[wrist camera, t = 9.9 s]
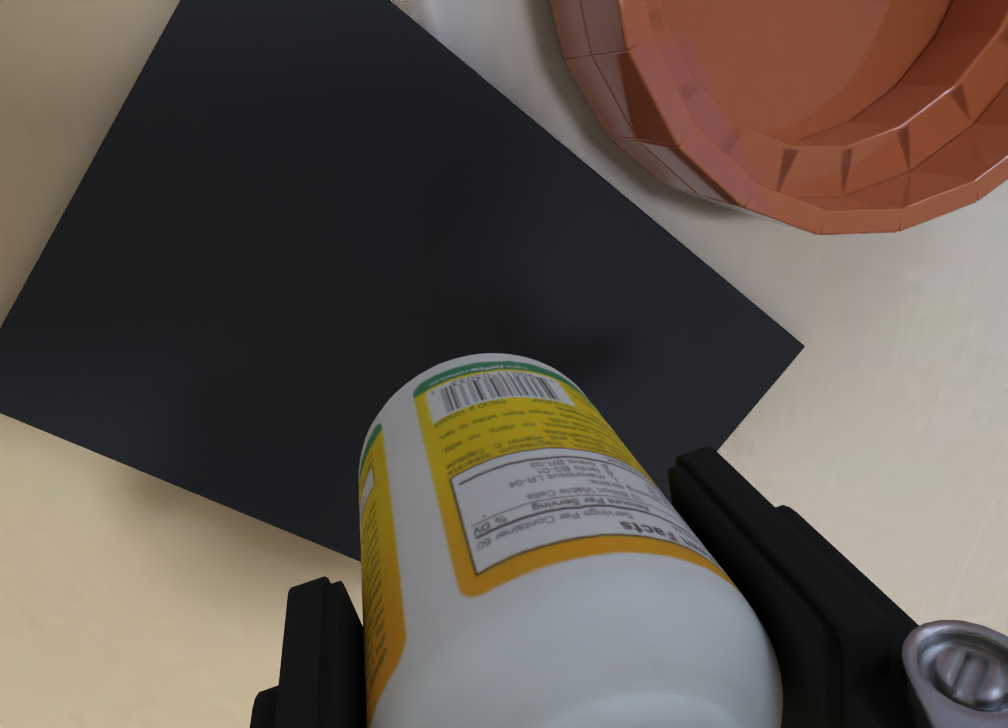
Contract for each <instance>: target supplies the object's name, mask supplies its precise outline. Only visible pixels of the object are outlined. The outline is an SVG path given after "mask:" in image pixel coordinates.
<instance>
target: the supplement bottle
mask: <svg viewBox="0 0 1008 728" xmlns="http://www.w3.org/2000/svg"><path fill="white" fill-rule="evenodd" d="M359 511H360V541H361V572H362V604H363V633H364V660H365V681H366V719H367V728H781V721H782V710H783V690H782V682H781V674H780V668H779V664H778V661H777V657H776V654H775V651H774V648H773V646H772V643H771V641H770V639H769V637H768V635H767V632H766V630H765V628H764V627H763V625H762V623H761V622H760V620H759V618H758V617H757V615H756V613H755V612H754V611H753V609H752V608H751V606H750V605H749V604H748V602H747V601H746V599H745V598H744V597H743V595H742V594H741V592H740V591H739V590H738V588H737V587H736V586H735V584H734V583H733V582H732V581H731V579H730V578H729V577H728V575H727V574H726V573H725V572H724V570H723V569H722V568H721V567H720V565H719V564H718V563H717V562H716V561H715V559H714V558H713V557H712V555H711V554H710V553H709V552H708V550H707V549H706V548H705V546H704V545H703V544H702V543H701V541H700V540H699V539H698V538H697V536H696V535H695V534H694V532H693V531H692V530H691V529H690V527H689V526H688V525H687V523H686V522H685V521H684V520H683V518H682V517H681V516H680V515H679V513H678V512H677V511H676V510H675V508H674V507H673V506H672V505H671V503H670V502H669V501H668V500H667V498H666V497H665V496H664V495H663V493H662V492H661V491H660V489H659V488H658V487H657V485H656V484H655V483H654V482H653V480H652V479H651V478H650V476H649V475H648V474H647V473H646V471H645V470H644V469H643V468H642V466H641V465H640V464H639V463H638V461H637V460H636V459H635V458H634V456H633V455H632V454H631V453H630V451H629V450H628V449H627V448H626V446H625V445H624V444H623V443H622V441H621V440H620V439H619V437H618V436H617V435H616V433H615V432H614V431H613V429H612V428H611V427H610V426H609V424H608V423H607V422H606V421H605V419H604V418H603V417H602V416H601V414H600V413H599V411H598V410H597V409H596V407H595V406H594V405H593V404H592V403H591V402H590V401H589V399H588V398H587V397H586V395H585V394H584V393H583V392H582V391H581V390H580V389H579V388H578V386H577V385H576V384H575V383H573V382H572V381H571V380H570V379H568V378H567V377H566V376H564V375H563V374H562V373H560V372H559V371H557V370H556V369H554V368H552V367H550V366H548V365H546V364H544V363H541V362H539V361H536V360H533V359H529V358H526V357H523V356H517V355H511V354H501V353H486V354H475V355H469V356H464V357H460V358H456V359H452V360H449V361H446V362H444V363H441V364H438V365H436V366H434V367H432V368H430V369H428V370H426V371H425V372H423V373H421V374H419V375H418V376H416V377H415V378H413V379H412V380H411V381H409V382H408V383H406V384H405V385H404V386H403V387H402V388H401V389H400V390H398V391H397V392H396V393H395V394H394V395H393V396H392V397H391V398H390V399H389V400H388V402H387V403H386V404H385V406H384V407H383V408H382V410H381V411H380V412H379V414H378V415H377V417H376V418H375V420H374V421H373V423H372V425H371V426H370V429H369V431H368V433H367V436H366V438H365V442H364V445H363V449H362V453H361V458H360V465H359Z"/></svg>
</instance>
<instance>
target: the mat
mask: <svg viewBox="0 0 1008 728" xmlns="http://www.w3.org/2000/svg"><path fill="white" fill-rule="evenodd" d="M804 347H805V346H804V345H803V344H802V343H800V342H799V341H798V340H797V339H796V338H794V337H793V336H792V335H791V334H790V333H788V332H787V331H786V330H785V329H784V328H782V327H781V326H780V325H779V324H778V323H776V322H775V321H774V320H773V319H772V318H770V317H769V316H768V315H767V314H766V313H764V312H763V311H762V310H761V309H760V308H758V307H757V306H756V305H755V304H754V303H752V302H751V301H750V300H749V299H748V298H746V297H745V296H744V295H743V294H742V293H740V292H739V291H738V290H737V289H736V288H734V287H733V286H732V285H731V284H730V283H728V282H727V281H726V280H725V279H724V278H722V277H721V276H720V275H719V274H718V273H716V272H715V271H714V270H713V269H712V268H710V267H709V266H708V265H707V264H706V263H704V262H703V261H702V260H701V259H700V258H698V257H697V256H696V255H695V254H694V253H692V252H691V251H690V250H689V249H688V248H686V247H685V246H684V245H683V244H682V243H680V242H679V241H678V240H677V239H676V238H674V237H673V236H672V235H671V234H670V233H668V232H667V231H666V230H665V229H664V228H662V227H661V226H660V225H659V224H658V223H656V222H655V221H654V220H653V219H652V218H650V217H649V216H648V215H647V214H646V213H644V212H643V211H642V210H641V209H640V208H638V207H637V206H636V205H635V204H634V203H632V202H631V201H630V200H629V199H628V198H626V197H625V196H624V195H623V194H622V193H620V192H619V191H618V190H617V189H616V188H614V187H613V186H612V185H611V184H610V183H608V182H607V181H606V180H605V179H604V178H602V177H601V176H600V175H599V174H598V173H596V172H595V171H594V170H593V169H592V168H590V167H589V166H588V165H587V164H586V163H584V162H583V161H582V160H581V159H580V158H578V157H577V156H576V155H575V154H574V153H572V152H571V151H570V150H569V149H567V148H566V147H565V146H564V145H563V144H561V143H560V142H559V141H558V140H557V139H555V138H554V137H553V136H552V135H551V134H549V133H548V132H547V131H546V130H545V129H543V128H542V127H541V126H540V125H539V124H537V123H536V122H535V121H534V120H533V119H531V118H530V117H529V116H528V115H527V114H525V113H524V112H523V111H522V110H521V109H519V108H518V107H517V106H516V105H515V104H513V103H512V102H511V101H510V100H509V99H507V98H506V97H505V96H504V95H503V94H501V93H500V92H499V91H498V90H497V89H495V88H494V87H493V86H492V85H491V84H489V83H488V82H487V81H486V80H485V79H483V78H482V77H481V76H480V75H479V74H477V73H476V72H475V71H474V70H473V69H471V68H470V67H469V66H468V65H467V64H465V63H464V62H463V61H462V60H461V59H459V58H458V57H457V56H456V55H455V54H453V53H452V52H451V51H450V50H449V49H447V48H446V47H445V46H444V45H443V44H441V43H440V42H439V41H438V40H437V39H435V38H434V37H433V36H432V35H431V34H429V33H428V32H427V31H426V30H425V29H423V28H422V27H421V26H420V25H419V24H417V23H416V22H415V21H414V20H413V19H411V18H410V17H409V16H408V15H407V14H405V13H404V12H403V11H402V10H401V9H399V8H398V7H397V6H396V5H395V4H393V3H392V2H391V1H390V0H180V2H179V4H178V5H177V7H176V9H175V11H174V13H173V15H172V16H171V18H170V20H169V22H168V24H167V25H166V27H165V29H164V31H163V33H162V35H161V36H160V38H159V40H158V42H157V44H156V45H155V47H154V49H153V51H152V53H151V55H150V56H149V58H148V60H147V62H146V64H145V66H144V67H143V69H142V71H141V73H140V75H139V76H138V78H137V80H136V82H135V84H134V86H133V87H132V89H131V91H130V93H129V95H128V97H127V98H126V100H125V102H124V104H123V106H122V107H121V109H120V111H119V113H118V115H117V117H116V118H115V120H114V122H113V124H112V126H111V128H110V129H109V131H108V133H107V135H106V137H105V138H104V140H103V142H102V144H101V146H100V148H99V149H98V151H97V153H96V155H95V157H94V158H93V160H92V162H91V164H90V166H89V168H88V169H87V171H86V173H85V175H84V177H83V179H82V180H81V182H80V184H79V186H78V188H77V189H76V191H75V193H74V195H73V197H72V199H71V200H70V202H69V204H68V206H67V208H66V210H65V211H64V213H63V215H62V217H61V219H60V220H59V222H58V224H57V226H56V228H55V230H54V231H53V233H52V235H51V237H50V239H49V240H48V242H47V244H46V246H45V248H44V250H43V251H42V253H41V255H40V257H39V259H38V261H37V262H36V264H35V266H34V268H33V270H32V271H31V273H30V275H29V277H28V279H27V281H26V282H25V284H24V286H23V288H22V290H21V292H20V293H19V295H18V297H17V299H16V301H15V302H14V304H13V306H12V308H11V310H10V312H9V313H8V315H7V317H6V319H5V321H4V323H3V324H2V326H1V328H0V413H2V414H4V415H6V416H9V417H11V418H14V419H16V420H19V421H21V422H23V423H26V424H28V425H31V426H33V427H36V428H38V429H40V430H43V431H45V432H48V433H50V434H53V435H55V436H57V437H60V438H62V439H65V440H67V441H69V442H72V443H74V444H77V445H79V446H82V447H84V448H86V449H89V450H91V451H94V452H96V453H99V454H101V455H103V456H106V457H108V458H111V459H113V460H116V461H118V462H120V463H123V464H125V465H128V466H130V467H133V468H135V469H137V470H140V471H142V472H145V473H147V474H149V475H152V476H154V477H157V478H159V479H162V480H164V481H166V482H169V483H171V484H174V485H176V486H179V487H181V488H183V489H186V490H188V491H191V492H193V493H196V494H198V495H200V496H203V497H205V498H208V499H210V500H212V501H215V502H217V503H220V504H222V505H225V506H227V507H229V508H232V509H234V510H237V511H239V512H242V513H244V514H246V515H249V516H251V517H254V518H256V519H259V520H261V521H263V522H266V523H268V524H271V525H273V526H275V527H278V528H280V529H283V530H285V531H288V532H290V533H292V534H295V535H297V536H300V537H302V538H305V539H307V540H309V541H312V542H314V543H317V544H319V545H322V546H324V547H326V548H329V549H331V550H334V551H336V552H339V553H341V554H343V555H346V556H348V557H351V558H353V559H355V560H358V561H360V562H361V541H360V511H359V465H360V458H361V453H362V449H363V445H364V442H365V438H366V436H367V433H368V431H369V429H370V426H371V425H372V423H373V421H374V420H375V418H376V417H377V415H378V414H379V412H380V411H381V410H382V408H383V407H384V406H385V404H386V403H387V402H388V400H389V399H390V398H391V397H392V396H393V395H394V394H395V393H396V392H397V391H398V390H400V389H401V388H402V387H403V386H404V385H405V384H406V383H408V382H409V381H411V380H412V379H413V378H415V377H416V376H418V375H419V374H421V373H423V372H425V371H426V370H428V369H430V368H432V367H434V366H436V365H438V364H441V363H444V362H446V361H449V360H452V359H456V358H460V357H464V356H469V355H475V354H486V353H501V354H511V355H517V356H523V357H526V358H529V359H533V360H536V361H539V362H541V363H544V364H546V365H548V366H550V367H552V368H554V369H556V370H557V371H559V372H560V373H562V374H563V375H564V376H566V377H567V378H568V379H570V380H571V381H572V382H573V383H575V384H576V385H577V386H578V388H579V389H580V390H581V391H582V392H583V393H584V394H585V395H586V397H587V398H588V399H589V401H590V402H591V403H592V404H593V405H594V406H595V407H596V409H597V410H598V411H599V413H600V414H601V416H602V417H603V418H604V419H605V421H606V422H607V423H608V424H609V426H610V427H611V428H612V429H613V431H614V432H615V433H616V435H617V436H618V437H619V439H620V440H621V441H622V443H623V444H624V445H625V446H626V448H627V449H628V450H629V451H630V453H631V454H632V455H633V456H634V458H635V459H636V460H637V461H638V463H639V464H640V465H641V466H642V468H643V469H644V470H645V471H646V473H647V474H648V475H649V476H650V478H651V479H652V480H653V482H654V483H655V484H656V485H657V487H658V488H659V489H660V491H661V492H662V493H663V495H664V496H665V497H666V498H667V500H668V501H669V502H670V503H671V505H672V501H671V494H670V487H669V480H668V469H669V468H671V467H674V466H676V465H675V461H676V457H677V456H679V455H682V454H685V453H688V452H691V451H694V450H697V449H699V448H702V447H705V446H710V447H712V448H713V449H715V450H716V451H717V450H718V449H719V448H720V447H721V446H722V444H723V443H724V442H725V441H726V440H727V438H728V437H729V436H730V435H731V434H732V432H733V431H734V430H735V429H736V428H737V427H738V425H739V424H740V423H741V422H742V421H743V419H744V418H745V417H746V416H747V415H748V413H749V412H750V411H751V410H752V409H753V408H754V406H755V405H756V404H757V403H758V402H759V400H760V399H761V398H762V397H763V396H764V395H765V393H766V392H767V391H768V390H769V389H770V387H771V386H772V385H773V384H774V383H775V381H776V380H777V379H778V378H779V377H780V376H781V374H782V373H783V372H784V371H785V370H786V368H787V367H788V366H789V365H790V364H791V363H792V361H793V360H794V359H795V358H796V357H797V355H798V354H799V353H800V352H801V351H802V349H803V348H804Z"/></svg>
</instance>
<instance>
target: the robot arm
mask: <svg viewBox="0 0 1008 728" xmlns="http://www.w3.org/2000/svg"><path fill="white" fill-rule="evenodd" d="M675 465H676V466H674V467H671V468H669V469H668V480H669V487H670V494H671V501H672V506H673V507H674V508H675V510H676V511H677V512H678V513H679V515H680V516H681V517H682V518H683V520H684V521H685V522H686V523H687V525H688V526H689V527H690V529H691V530H692V531H693V532H694V534H695V535H696V536H697V538H698V539H699V540H700V541H701V543H702V544H703V545H704V546H705V548H706V549H707V550H708V552H709V553H710V554H711V555H712V557H713V558H714V559H715V561H716V562H717V563H718V564H719V565H720V567H721V568H722V569H723V570H724V572H725V573H726V574H727V575H728V577H729V578H730V579H731V581H732V582H733V583H734V584H735V586H736V587H737V588H738V590H739V591H740V592H741V594H742V595H743V597H744V598H745V599H746V601H747V602H748V604H749V605H750V606H751V608H752V609H753V611H754V612H755V613H756V615H757V617H758V618H759V620H760V622H761V623H762V625H763V627H764V628H765V630H766V632H767V635H768V637H769V639H770V641H771V643H772V646H773V648H774V651H775V654H776V657H777V661H778V664H779V668H780V674H781V682H782V690H783V710H782V721H781V728H1008V637H1007V636H1006V635H1004V634H1002V633H999V632H997V631H995V630H992V629H990V628H988V627H985V626H983V625H978V624H974V623H970V622H966V621H959V620H939V621H934V622H929V623H925V624H923V625H921V626H919V625H918V624H917V623H916V622H915V621H914V620H912V619H911V618H910V617H909V616H908V615H907V614H906V613H905V612H904V611H903V610H902V609H901V608H899V607H898V606H897V605H896V604H895V603H894V602H893V601H892V600H891V599H890V598H889V597H888V596H887V595H885V594H884V593H883V592H882V591H881V590H880V589H879V588H878V587H877V586H876V585H875V584H874V583H872V582H871V581H870V580H869V579H868V578H867V577H866V576H865V575H864V574H863V573H862V572H861V571H859V570H858V569H857V568H856V567H855V566H854V565H853V564H852V563H851V562H850V561H849V560H848V559H847V558H845V557H844V556H843V555H842V554H841V553H840V552H839V551H838V550H837V549H836V548H835V547H834V546H832V545H831V544H830V543H829V542H828V541H827V540H826V539H825V538H824V537H823V536H822V535H821V534H819V533H818V532H817V531H816V530H815V529H814V528H813V527H812V526H811V525H810V524H809V523H808V522H807V521H805V520H804V519H803V518H802V517H801V516H800V515H799V514H798V513H797V512H795V511H794V510H793V509H791V508H790V507H788V506H784V505H781V506H779V507H776V508H775V507H774V506H773V505H772V504H771V503H770V502H769V501H768V500H767V499H766V498H765V497H763V496H762V495H761V494H760V493H759V492H758V491H757V490H756V489H755V488H754V487H753V486H752V485H751V484H750V483H749V482H748V481H747V480H746V479H745V478H744V477H743V476H742V475H741V474H740V473H738V472H737V471H736V470H735V469H734V468H733V467H732V466H731V465H730V464H729V463H728V462H727V461H726V460H725V459H724V458H723V457H722V456H721V455H720V454H719V453H718V452H717V451H716V450H715V449H713V448H712V447H710V446H705V447H702V448H699V449H697V450H694V451H691V452H688V453H685V454H682V455H679V456H677V457H676V461H675ZM250 728H367V719H366V681H365V660H364V633H363V626H362V624H361V621H360V619H359V617H358V615H357V612H356V610H355V608H354V606H353V604H352V601H351V599H350V597H349V595H348V592H347V590H346V588H345V586H344V584H343V583H342V581H338V582H335V583H332V584H331V582H330V581H329V579H328V578H327V577H325V576H324V577H321V578H318V579H315V580H312V581H309V582H306V583H303V584H300V585H297V586H295V587H292V588H290V590H289V592H288V599H287V609H286V618H285V628H284V638H283V648H282V658H281V667H280V677H279V685H278V686H275V687H272V688H270V689H267V690H264V691H261V692H259V693H258V695H257V696H256V698H255V701H254V705H253V709H252V716H251V723H250Z"/></svg>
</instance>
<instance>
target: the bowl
mask: <svg viewBox="0 0 1008 728" xmlns="http://www.w3.org/2000/svg"><path fill="white" fill-rule="evenodd" d="M550 2H551V7H552V11H553V15H554V20H555V24H556V28H557V32H558V37H559V41H560V45H561V50H562V54H563V58H564V59H565V62H566V64H567V66H568V68H569V69H570V71H571V73H572V75H573V76H574V78H575V80H576V82H577V83H578V85H579V87H580V89H581V90H582V92H583V94H584V96H585V97H586V99H587V101H588V103H589V104H590V106H591V108H592V110H593V111H594V113H595V115H596V117H597V118H598V120H599V122H600V124H601V125H602V127H603V129H604V131H605V132H606V134H607V135H609V137H610V138H611V139H612V140H613V141H614V142H615V143H617V144H618V145H619V146H620V147H621V148H622V149H623V150H625V151H626V152H627V153H628V154H629V155H630V156H631V157H633V158H634V159H635V160H636V161H637V162H638V163H639V164H641V165H642V166H643V167H644V168H645V169H646V170H647V171H649V172H650V173H651V174H652V175H653V176H654V177H655V178H657V179H658V180H659V181H660V182H661V183H662V184H665V185H666V186H668V187H671V188H673V189H676V190H679V191H682V192H684V193H687V194H690V195H693V196H695V197H698V198H701V199H704V200H707V201H709V202H712V203H715V204H718V205H720V206H723V207H726V208H729V209H732V210H736V211H739V212H742V213H746V214H749V215H752V216H756V217H759V218H762V219H766V220H769V221H772V222H776V223H779V224H782V225H785V226H789V227H792V228H795V229H799V230H802V231H805V232H809V233H812V234H815V235H842V234H869V233H895V232H898V231H903V230H905V229H908V228H910V227H913V226H916V225H918V224H921V223H923V222H926V221H928V220H931V219H934V218H936V217H939V216H941V215H944V214H947V213H949V212H952V211H954V210H957V209H960V208H962V207H965V206H967V205H970V204H973V203H975V202H976V201H978V200H980V199H982V198H983V197H984V196H986V195H987V194H989V193H990V192H991V191H993V190H994V189H995V188H997V187H998V186H999V185H1001V184H1002V183H1003V182H1005V181H1006V180H1008V0H550Z"/></svg>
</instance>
